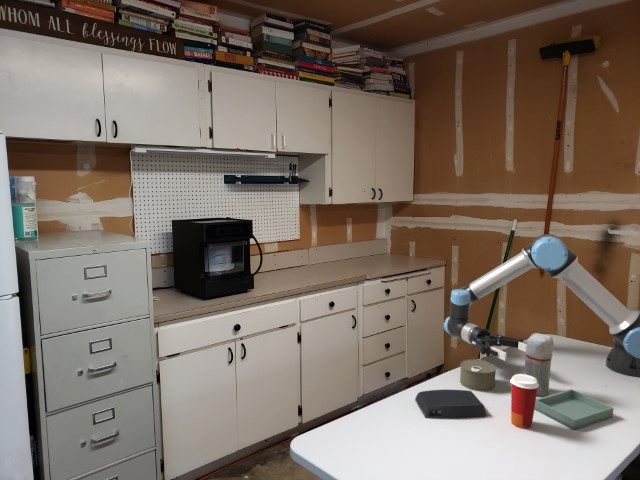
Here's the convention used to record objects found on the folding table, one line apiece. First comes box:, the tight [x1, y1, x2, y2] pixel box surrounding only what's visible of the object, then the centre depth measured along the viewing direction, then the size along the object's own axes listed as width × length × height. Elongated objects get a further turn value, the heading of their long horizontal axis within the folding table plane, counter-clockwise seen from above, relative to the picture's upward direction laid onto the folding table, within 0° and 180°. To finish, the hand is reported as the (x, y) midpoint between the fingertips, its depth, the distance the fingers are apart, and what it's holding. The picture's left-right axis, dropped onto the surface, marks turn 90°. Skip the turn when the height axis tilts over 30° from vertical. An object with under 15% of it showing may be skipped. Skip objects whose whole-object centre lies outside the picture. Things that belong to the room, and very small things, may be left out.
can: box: [459, 358, 497, 392], centre depth 166 cm, size 12×12×7 cm
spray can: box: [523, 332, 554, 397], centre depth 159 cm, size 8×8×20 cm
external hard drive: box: [414, 388, 488, 420], centre depth 148 cm, size 13×19×4 cm
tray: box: [534, 388, 614, 431], centre depth 146 cm, size 18×14×3 cm
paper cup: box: [509, 373, 539, 430], centre depth 139 cm, size 8×8×14 cm
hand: (520, 354), depth 166 cm, fingers open, 13 cm apart
